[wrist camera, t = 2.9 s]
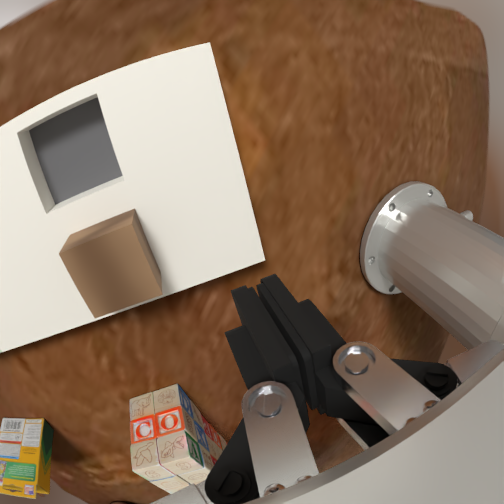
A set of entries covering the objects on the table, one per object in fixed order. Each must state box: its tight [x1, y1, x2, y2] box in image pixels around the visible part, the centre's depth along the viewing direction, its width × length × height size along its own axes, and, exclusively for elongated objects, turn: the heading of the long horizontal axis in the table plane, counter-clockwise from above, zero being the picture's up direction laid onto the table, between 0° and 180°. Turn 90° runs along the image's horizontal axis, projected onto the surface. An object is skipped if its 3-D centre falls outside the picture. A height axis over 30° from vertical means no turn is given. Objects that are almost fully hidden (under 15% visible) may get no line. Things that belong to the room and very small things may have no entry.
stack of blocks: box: [130, 384, 227, 494], centre depth 30 cm, size 21×6×12 cm, turn 16°
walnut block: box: [59, 209, 163, 318], centre depth 19 cm, size 5×5×3 cm
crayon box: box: [0, 418, 54, 499], centre depth 22 cm, size 7×3×12 cm, turn 92°
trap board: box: [0, 42, 265, 353], centre depth 19 cm, size 31×16×2 cm, turn 103°
